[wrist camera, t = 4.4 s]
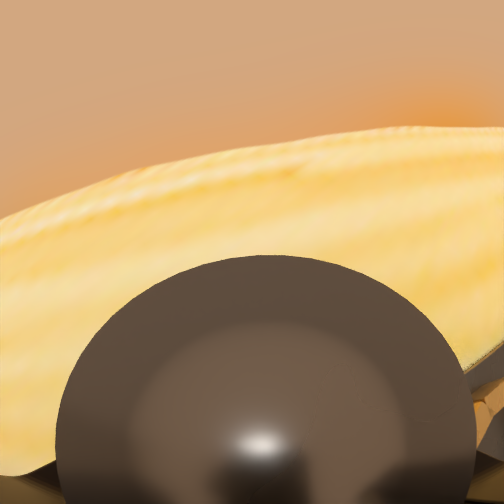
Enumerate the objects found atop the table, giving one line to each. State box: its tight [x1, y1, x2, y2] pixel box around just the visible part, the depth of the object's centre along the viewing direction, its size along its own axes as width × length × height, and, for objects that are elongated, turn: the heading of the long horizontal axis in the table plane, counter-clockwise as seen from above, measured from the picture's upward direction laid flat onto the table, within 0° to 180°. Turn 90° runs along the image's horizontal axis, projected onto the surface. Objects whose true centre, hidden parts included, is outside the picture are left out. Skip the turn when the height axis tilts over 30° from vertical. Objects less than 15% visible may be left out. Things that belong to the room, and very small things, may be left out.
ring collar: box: [464, 341, 504, 461], centre depth 9 cm, size 14×12×4 cm
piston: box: [55, 255, 477, 504], centre depth 8 cm, size 5×5×13 cm
